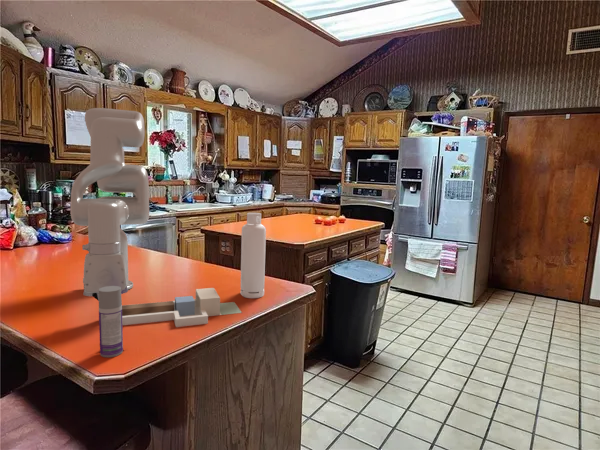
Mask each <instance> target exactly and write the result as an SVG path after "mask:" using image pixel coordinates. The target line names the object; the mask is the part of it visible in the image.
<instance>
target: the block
mask: <svg viewBox="0 0 600 450" xmlns="http://www.w3.org/2000/svg"><path fill="white" fill-rule="evenodd" d="M194 299H195V298H194V297H193V295H188V296H186V295H185V296H175V297H174V301H175V311H178V312H179V316H185V315H195V301H194Z"/></svg>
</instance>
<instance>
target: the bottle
mask: <svg viewBox="0 0 600 450" xmlns="http://www.w3.org/2000/svg"><path fill="white" fill-rule="evenodd" d="M266 229H267V228H266V226H265V225H263V224H262V213H261V212H247V213H246V223H245V224H243V225H242V227H241V241H240V242H241V243H240V244H241V249H240V251H241V252H240V253H241V255H240V292H239V293H240V295H241V296H242V297H243V298H247V299H259V298H262V297H264V296H265V279H266V278H265V277H266V276H265V274H266V271H265V270H266V243H267V242H266V241H267V239H266V238H267V230H266Z"/></svg>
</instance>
